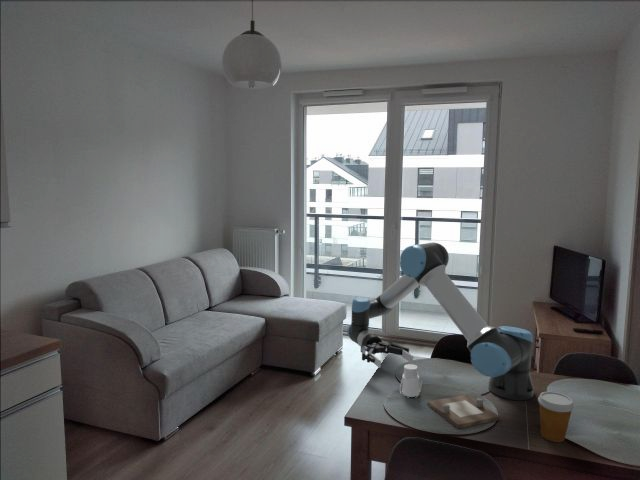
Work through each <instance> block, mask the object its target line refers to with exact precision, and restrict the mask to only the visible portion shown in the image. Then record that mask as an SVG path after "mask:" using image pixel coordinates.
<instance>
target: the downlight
mask: <svg viewBox="0 0 640 480" xmlns="http://www.w3.org/2000/svg"><path fill="white" fill-rule="evenodd" d="M418 368H419V367H418V365H416V364H414V363H409V364H405V365H404V366H403V374H402V377H401V381H400V385H399V391H401V390H402V392H403V394H405V395H407V396H416V395H418V394H419V392H421V389H422V386H423V380H422V379H420V375H419V373H418ZM401 387H402V389H401Z"/></svg>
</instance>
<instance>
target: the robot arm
mask: <svg viewBox="0 0 640 480" xmlns="http://www.w3.org/2000/svg"><path fill="white" fill-rule="evenodd" d="M449 261H450V257H449V253H448V250H447V248H446V247H445V246H443V245H442V244H441V243H438V242H427V243H420V244H418V243H417V244H413V245H409V246H407V247H405V248H404V249H403V250H402V252H401V254H400V257H399V267H400V269H401V272H402V273H403V274H402V275H401V276H400V277H398V279H396V280H395V282H394V283H392V284H391V285H390V286H388V288H386V289H385V290H384V291H383V292H381V294H380V295H378V296H377V297H376V298H374V299H371V300H370V299H369V298H366V297H361V296H360V297H355V298H353V299H352V302H351V323H350V324H349V326H348V327H347V330H346V333H347V336H348V338H349V339H350V340H351V341H352V342H354V343H355V344H357V345H358V346H359V347H360V352H361V360H362V361H366V362H367V363H372V364H374V366H376V367H377V368H380V369H381V367H382V360H381V359H380V358H379V357H378V356H376V354H386V355H388V354H393V355H398V356H401V357H402V358H403V359H405V360H406V361H408V362H409V364H414V355H413V354H412V353H410V348H408V347H406V346H402V345H400V344H396V343H393V342H391V341H389V342H388V344H387V343H384V342H383V340H382V339H381V338H380V337H379V336H378V335H376V333H374V332H372V331H370V330H369V329H370V328H369V327H370V319H374V318H378V317H382V316H385V315H387V314H390V313H392V311H393V309H394V307H395V306H396V305H397V304H398V303H400V302H401V301H402V300H404V299H405V298H406V297H407V296H408V295H410V294H411V293H412V292H414V290H415V289H417V288H418V287H419V286H421V287H426V288H427V290H428V291H429V292H430V293H431V295H432V297H434V299H435V300H436V301H437V303H438V304H439V305H440V306H441V308H442V309H443V311H445V313H446V314H447V316H448V317H449V318H450V319H451V321H452V322H453V324H454V325H455V326H456V327H457V329H458V330H459V331H460V333H461V334H462V335H463V337H464V338H465V340H466V341H467V345H466V347H467V349H468V350H469V352H470V355H469V356H470V362H471V364H472V366H473V368H474V369H475V370H476V371H477V372H479V373H480V374H481V375H483V376H485V377H489V380H488V384H487V385H488V386H487V387H488V389H489V391H490V392H491V393H492V394H494V395H496V396H498V397H500V398H504V399H507V400H513V401H527V400H531V399H532V398H533V397H534V395H535V394H534V393H535V388H534V384H533V380H532V376H531V366H532V365H531V364H532V354H533V343H534V340H533V339H534V337H533V336H534V335H533V333H532V332H531V331H529V330H527V329H524V328H520V327H514V326H509V325H502V326H501V325H499V326H498V327H497V328H496V327H495V326H490V325H488V324H487V323H486V321H485V320H484V319H483V317H481V315H480V314H479V313H478V311H477V310H476V309H475V308H474V307H473V305H472V304H471V302H469V301H468V300H469V299H467V298H466V297H465V296H464V294H463V293H462V292H461V290H460V289H459V288H458V286H457V285H456V284H455V283H454V282H453V280H452V279H451V278H450V277H449V275H448V274H447V273H446V267H447V266H448V265H449ZM366 352H367V353H366Z"/></svg>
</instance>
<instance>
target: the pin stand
mask: <svg viewBox="0 0 640 480" xmlns="http://www.w3.org/2000/svg"><path fill="white" fill-rule="evenodd" d="M428 405H429V406H428ZM427 406H428V407H430V406H431V407H432V408H433V409H432V408H431V407H430V408H431V409H432V410H433V411H435V410H436V411H437V412H438V414H439V413H440V414H441V415H442V416H441V415H440V414H439V415H440V416H441V417H442V418H444V419H445V418H446V419H447V420H446V419H445V420H446V421H448V422H449V423H450V424H451V423H452V425H453V426H454V427H456V429H462V428H469V427H471V426H477V425H481V424H486V423H492V422H495V421H500V420H501V416H500V415H499V414H497V413H496V412H495V411H492V410H491V409H490V408H488V407H487V406H485V405H484V399H482V398H479V397H478V398H473V397H472V396H470V395H469V394H462V395H457V396H451V397H446V398H441V399H440V398H439V399H434V400H428V401H427ZM436 411H435V412H436ZM437 412H436V413H437Z"/></svg>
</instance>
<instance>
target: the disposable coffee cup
mask: <svg viewBox="0 0 640 480" xmlns="http://www.w3.org/2000/svg"><path fill="white" fill-rule="evenodd" d="M537 401H538V405H539V419H540V423H539V424H540V436H541V437H543V438H544V439H545V440H548V441H551V442H554V443H561V442H564V441H565V439H566V434H567V431H568V426H569V423H570V418H571V416H572V411H573V409H574V408H575V404H574V401H573V399H572V398H571V397H569V396H568V395H566V394H563V393H560V392H556V391H543V392H541V393H540V394H539V396H538V398H537Z"/></svg>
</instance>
